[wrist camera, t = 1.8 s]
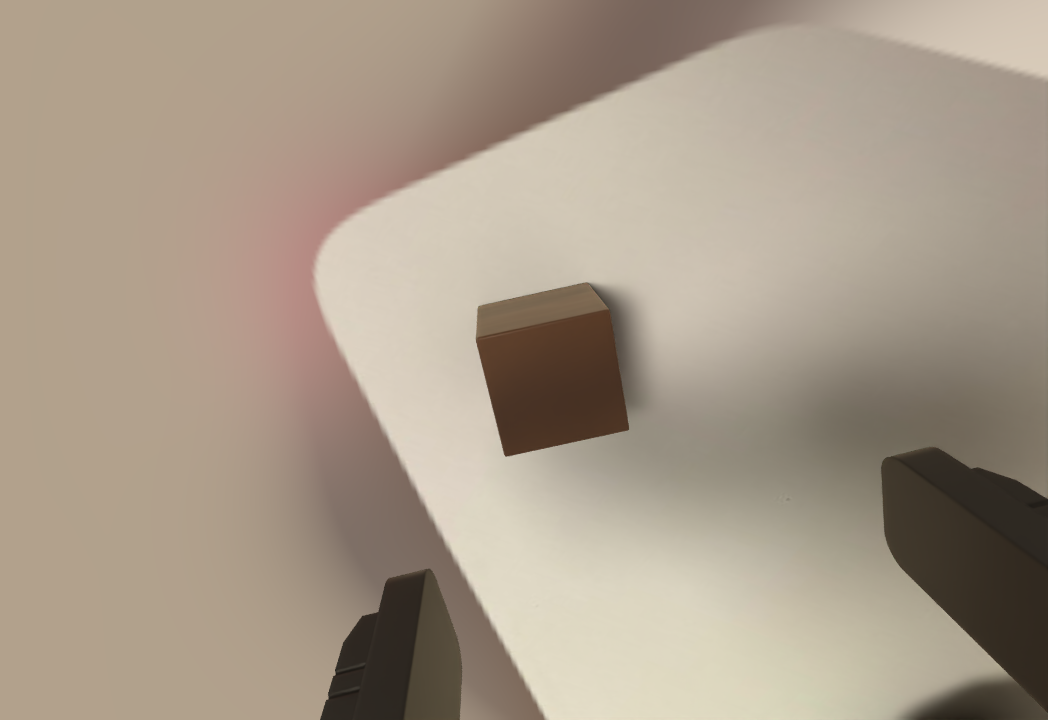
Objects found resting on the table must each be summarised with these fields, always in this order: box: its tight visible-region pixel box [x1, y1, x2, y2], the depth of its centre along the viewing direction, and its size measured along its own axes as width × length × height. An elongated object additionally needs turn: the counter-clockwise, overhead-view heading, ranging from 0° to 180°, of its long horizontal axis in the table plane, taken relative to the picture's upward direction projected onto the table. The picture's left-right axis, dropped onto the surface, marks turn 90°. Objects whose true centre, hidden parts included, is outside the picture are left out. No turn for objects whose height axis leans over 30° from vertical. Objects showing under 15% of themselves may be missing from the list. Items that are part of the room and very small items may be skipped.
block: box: [476, 283, 629, 456], centre depth 20 cm, size 4×4×4 cm
